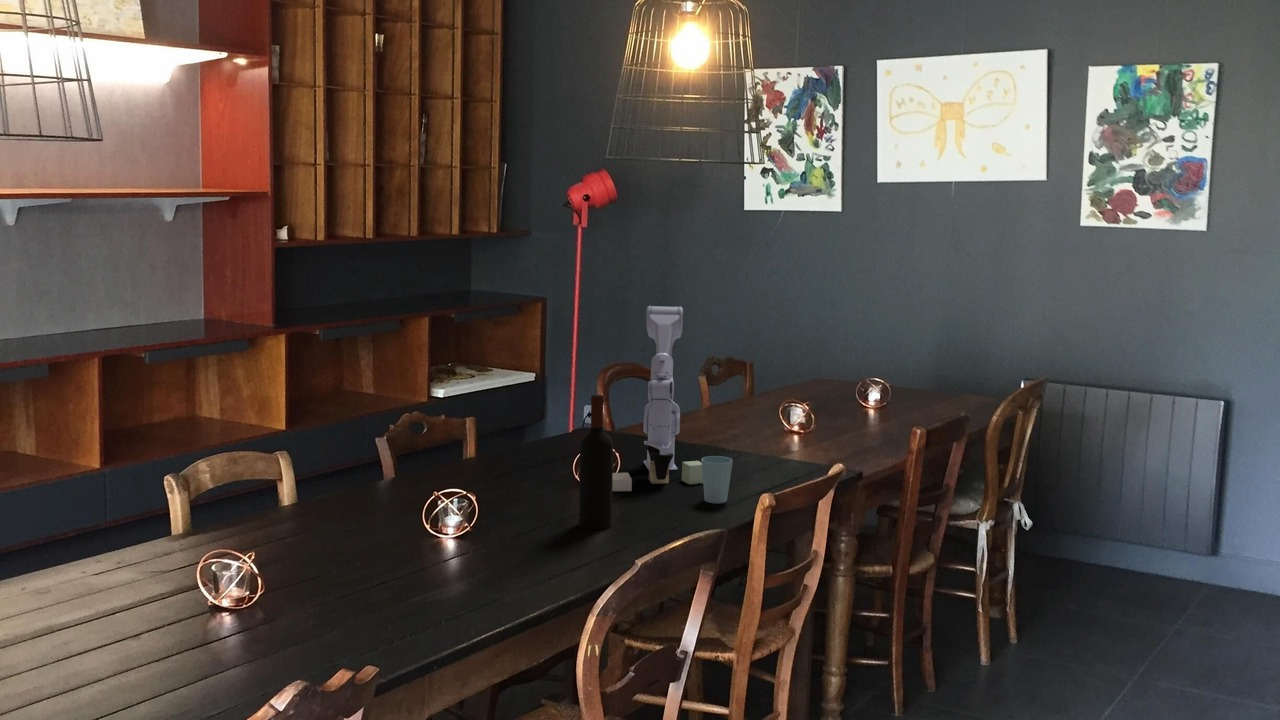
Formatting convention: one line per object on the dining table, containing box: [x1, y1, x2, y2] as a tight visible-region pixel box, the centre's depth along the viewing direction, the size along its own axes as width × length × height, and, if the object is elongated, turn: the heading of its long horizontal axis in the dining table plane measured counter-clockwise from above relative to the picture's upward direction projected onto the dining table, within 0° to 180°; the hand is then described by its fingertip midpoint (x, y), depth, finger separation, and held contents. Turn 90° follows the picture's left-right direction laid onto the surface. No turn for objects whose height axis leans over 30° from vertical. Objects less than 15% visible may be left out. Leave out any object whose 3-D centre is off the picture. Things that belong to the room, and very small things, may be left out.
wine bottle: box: [578, 394, 614, 531], centre depth 278 cm, size 8×8×30 cm
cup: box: [700, 455, 734, 504], centre depth 303 cm, size 8×8×10 cm
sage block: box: [681, 460, 703, 485], centre depth 322 cm, size 4×4×5 cm
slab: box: [612, 472, 633, 492], centre depth 314 cm, size 7×7×3 cm
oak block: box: [648, 461, 670, 485], centre depth 321 cm, size 4×4×5 cm
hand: (658, 475), depth 322 cm, fingers open, 7 cm apart
